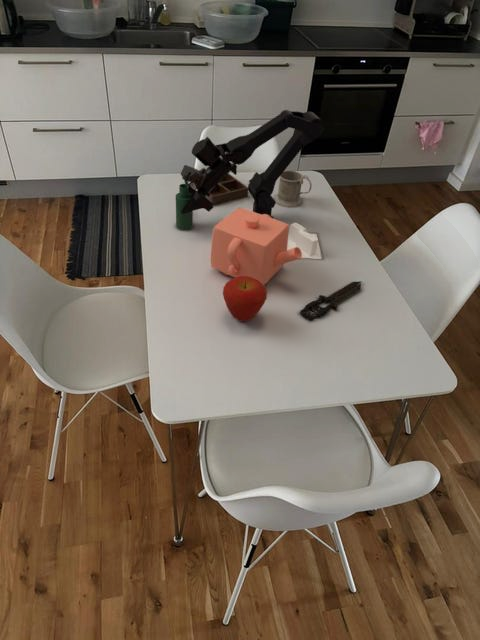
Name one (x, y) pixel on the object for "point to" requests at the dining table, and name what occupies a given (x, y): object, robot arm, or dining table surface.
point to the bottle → (181, 200)
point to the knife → (326, 299)
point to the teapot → (251, 245)
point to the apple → (244, 297)
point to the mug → (290, 188)
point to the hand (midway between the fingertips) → (180, 208)
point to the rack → (228, 190)
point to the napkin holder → (303, 242)
